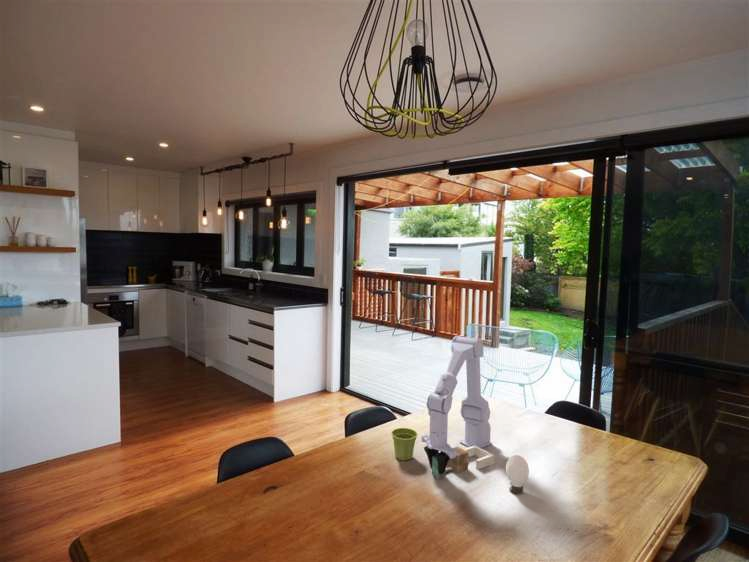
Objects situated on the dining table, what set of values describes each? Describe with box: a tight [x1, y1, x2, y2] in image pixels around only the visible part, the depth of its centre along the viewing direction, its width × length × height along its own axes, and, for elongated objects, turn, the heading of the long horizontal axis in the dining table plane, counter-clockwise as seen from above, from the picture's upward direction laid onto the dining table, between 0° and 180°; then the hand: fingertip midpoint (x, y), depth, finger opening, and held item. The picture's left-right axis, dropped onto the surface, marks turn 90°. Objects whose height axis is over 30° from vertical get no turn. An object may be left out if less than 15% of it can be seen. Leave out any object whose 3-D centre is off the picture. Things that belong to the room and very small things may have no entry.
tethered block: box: [431, 446, 469, 479], centre depth 147 cm, size 12×5×6 cm, turn 123°
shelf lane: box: [463, 445, 495, 470], centre depth 154 cm, size 8×9×3 cm
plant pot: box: [390, 427, 419, 462], centre depth 156 cm, size 9×9×9 cm
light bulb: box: [505, 454, 530, 495], centre depth 135 cm, size 7×7×11 cm
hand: (437, 470), depth 144 cm, fingers open, 3 cm apart
